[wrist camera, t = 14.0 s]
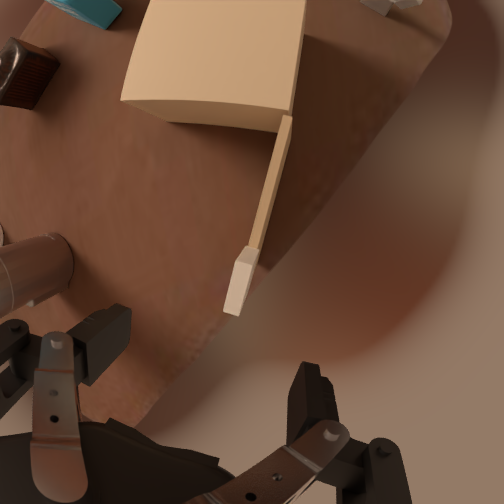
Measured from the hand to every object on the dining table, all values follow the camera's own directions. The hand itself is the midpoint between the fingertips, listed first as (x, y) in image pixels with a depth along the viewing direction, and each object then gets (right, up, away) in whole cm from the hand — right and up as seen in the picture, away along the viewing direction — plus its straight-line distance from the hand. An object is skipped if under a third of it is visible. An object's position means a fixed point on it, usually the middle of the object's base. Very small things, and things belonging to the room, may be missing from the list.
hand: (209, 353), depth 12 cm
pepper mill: (-40, +36, +23) cm, 59 cm away
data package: (-25, +45, +19) cm, 55 cm away
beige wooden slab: (+4, +11, +23) cm, 26 cm away
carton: (0, +27, +20) cm, 34 cm away
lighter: (+21, +39, +15) cm, 47 cm away
